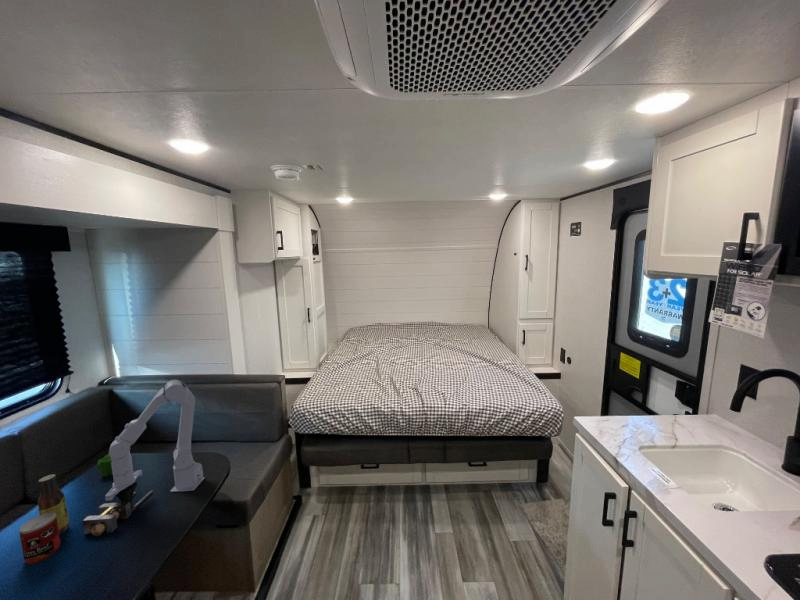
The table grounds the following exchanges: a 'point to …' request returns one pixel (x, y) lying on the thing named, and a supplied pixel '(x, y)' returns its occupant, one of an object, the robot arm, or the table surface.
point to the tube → (101, 526)
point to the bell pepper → (105, 466)
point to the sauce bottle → (53, 501)
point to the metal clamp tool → (111, 519)
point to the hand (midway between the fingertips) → (127, 504)
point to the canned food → (39, 538)
